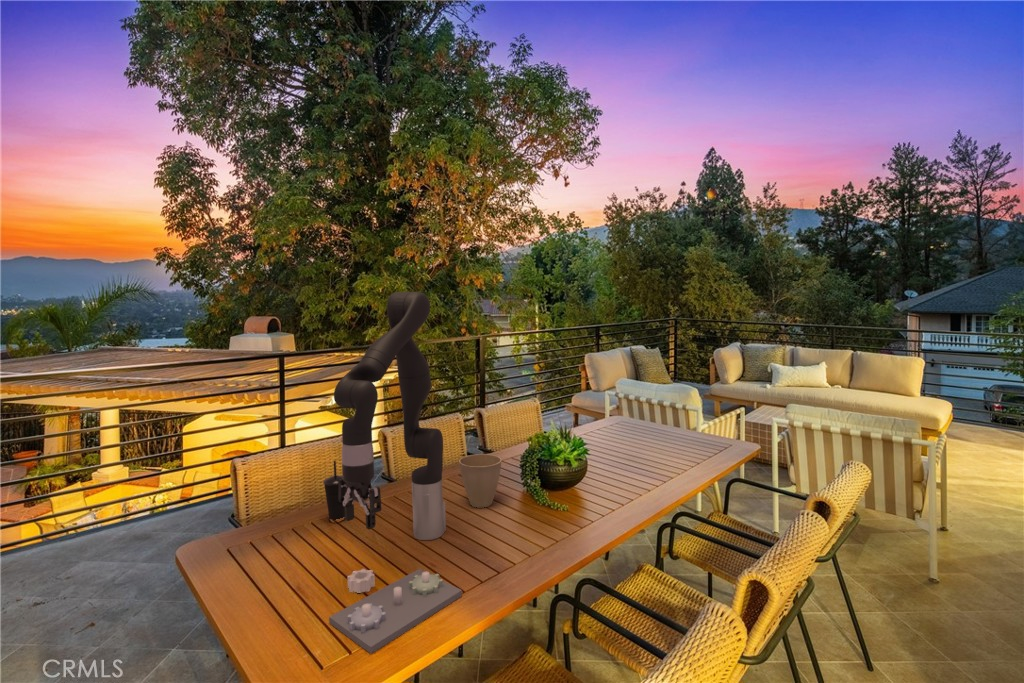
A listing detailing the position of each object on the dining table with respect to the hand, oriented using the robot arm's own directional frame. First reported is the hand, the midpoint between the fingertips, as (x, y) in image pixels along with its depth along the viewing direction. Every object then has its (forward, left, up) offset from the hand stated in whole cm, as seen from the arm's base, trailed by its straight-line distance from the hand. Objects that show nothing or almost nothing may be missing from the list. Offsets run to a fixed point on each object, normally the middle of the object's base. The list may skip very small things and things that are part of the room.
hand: (360, 523), depth 127 cm
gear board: (0, +14, -17) cm, 22 cm away
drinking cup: (-18, -42, -17) cm, 49 cm away
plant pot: (-57, -13, -17) cm, 61 cm away
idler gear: (0, -1, -17) cm, 17 cm away
